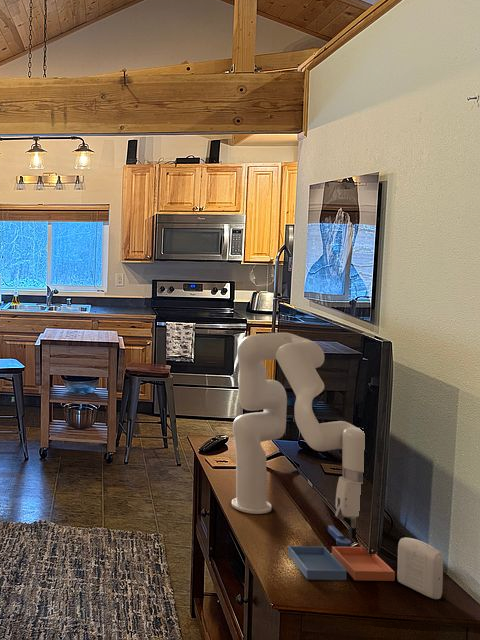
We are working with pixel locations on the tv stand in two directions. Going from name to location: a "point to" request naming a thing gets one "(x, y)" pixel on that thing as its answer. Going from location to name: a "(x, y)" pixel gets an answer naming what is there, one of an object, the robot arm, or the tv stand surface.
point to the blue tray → (317, 563)
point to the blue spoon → (339, 537)
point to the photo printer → (420, 567)
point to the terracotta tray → (363, 564)
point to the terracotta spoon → (364, 549)
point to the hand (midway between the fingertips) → (358, 540)
